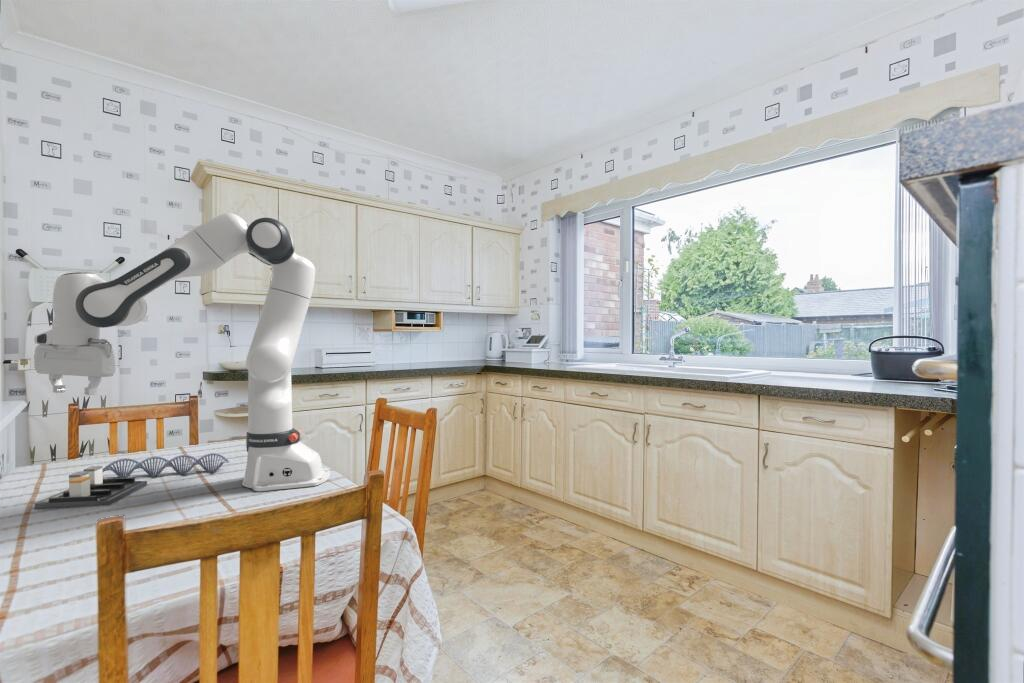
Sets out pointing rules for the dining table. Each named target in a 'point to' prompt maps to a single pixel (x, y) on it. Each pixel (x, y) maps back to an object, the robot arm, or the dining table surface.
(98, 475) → the handle
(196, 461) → the decorative sculpture
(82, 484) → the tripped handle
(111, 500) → the panel
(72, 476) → the white rectangular block
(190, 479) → the dining table surface
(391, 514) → the dining table surface
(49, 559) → the dining table surface
